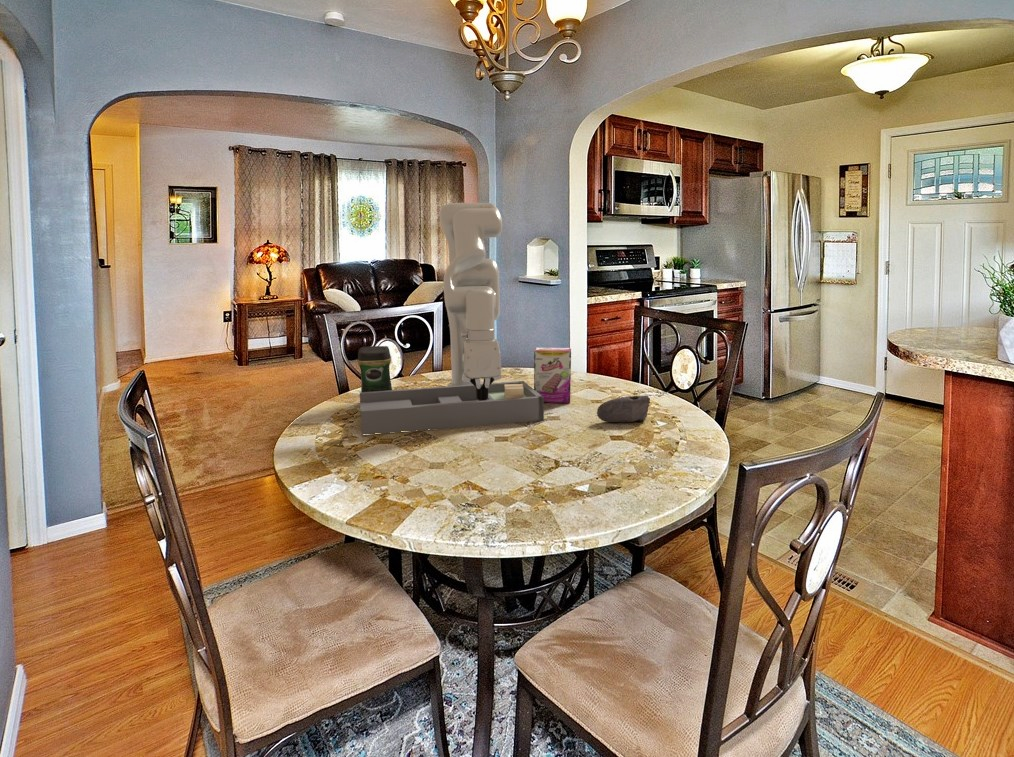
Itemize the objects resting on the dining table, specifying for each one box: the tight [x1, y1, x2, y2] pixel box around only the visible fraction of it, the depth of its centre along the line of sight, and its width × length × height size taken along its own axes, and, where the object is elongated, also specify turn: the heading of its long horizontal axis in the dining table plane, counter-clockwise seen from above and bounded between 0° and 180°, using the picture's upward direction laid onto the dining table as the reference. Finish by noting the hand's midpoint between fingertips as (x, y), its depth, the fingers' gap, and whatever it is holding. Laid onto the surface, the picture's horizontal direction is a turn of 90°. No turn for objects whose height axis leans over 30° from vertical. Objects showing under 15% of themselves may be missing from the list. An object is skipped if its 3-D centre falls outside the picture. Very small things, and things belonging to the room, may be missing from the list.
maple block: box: [505, 384, 524, 399], centre depth 171 cm, size 5×5×5 cm
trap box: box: [359, 380, 545, 436], centre depth 174 cm, size 21×48×6 cm, turn 104°
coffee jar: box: [357, 345, 393, 392], centre depth 184 cm, size 10×8×19 cm
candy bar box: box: [533, 347, 572, 404], centre depth 188 cm, size 11×5×16 cm, turn 84°
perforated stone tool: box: [596, 395, 651, 424], centre depth 167 cm, size 15×5×7 cm, turn 95°
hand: (482, 401), depth 171 cm, fingers closed
